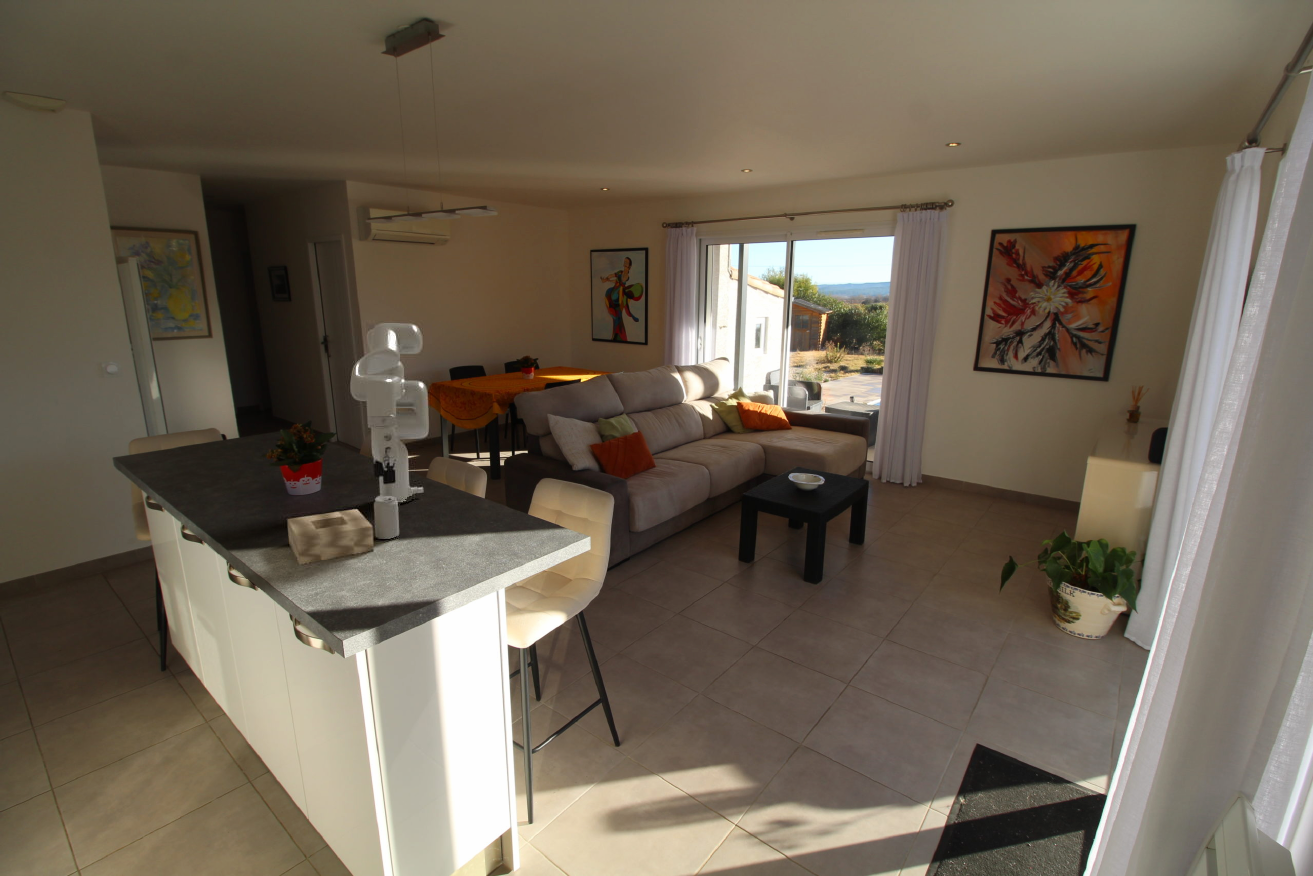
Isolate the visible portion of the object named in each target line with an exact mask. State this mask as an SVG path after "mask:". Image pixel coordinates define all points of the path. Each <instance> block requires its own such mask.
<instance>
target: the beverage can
mask: <svg viewBox="0 0 1313 876" xmlns="http://www.w3.org/2000/svg"><path fill="white" fill-rule="evenodd" d="M374 500H375V501H374V503H373V510H374V512H373V513H374V529H375V533H374V534H375V537H376V538H377V539H379V540H380V539H391V538H394V537H396V536H397V537H398V536H399V535H400V528H399V527H400V525H399V505H398V501H397V500H396V497H394V496H382V497H378V498H376V497H375V499H374ZM397 537H396V538H397ZM394 539H395V538H394ZM391 540H392V539H391Z"/></svg>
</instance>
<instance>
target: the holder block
mask: <svg viewBox="0 0 1313 876" xmlns="http://www.w3.org/2000/svg"><path fill="white" fill-rule="evenodd" d="M286 520H287V521H286V522H287V533H288V544H289V546H290V548H291V550H292V552H293V555H294V556H295V558H296V557H297V558H296V561H297V562H298V564H299V565H306V564H310V562H311V563H316V562H321V561H325V560H332V558H333V559H336V558H335V557H338V558H342V557H341V556H343V557H347V556H346V555H349V556H351V555H350V554H354V555H356V554H355V553H359V554H362V553H361V552H365V553H367V552H366V551H370V550H374V530H373V525H372V524H371V523H370V521H368V520H367V518H366V517H365V516H364V515H363V514H362V513H361V512H360V511H359V510H358V509H357V508H356V509H355V508H353V509H348V510H340V511H334V512H328V513H322V514H321V513H320V514H313V515H306V516H299V517H294V518H293V517H292V518H287V519H286ZM370 552H371V551H370ZM305 563H306V564H305Z"/></svg>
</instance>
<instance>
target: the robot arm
mask: <svg viewBox="0 0 1313 876" xmlns="http://www.w3.org/2000/svg"><path fill="white" fill-rule="evenodd" d="M366 341H367V346H368V349H369V352H368V353H367V354H366V355H364V356H362V357H361V358H360V359H359V360H357V361H356V362H355V364H354V365H353V367H352V369H351V371H352V372H351V378H350V386H349V387H350V394H351V396H352V397H353V399H354V400H357V401H360V402H361V401H363V402H366V413H367V414H366V415H367V427H368V428H369V429H371V436H370V437H371V439H370V440H371V442H370V443H371V453H372V457H373V477H374V478H379V479H378V480H379V494H380V495H377V496H376V497H375V499H376V498H378V497H382V496H394V497H396V500H397V501H398V502H403V501H406V500H405V499H407V497H409V496H412V495H413V494H414V495H415V494H422V493H424V490H425V489H424V487H423V486H421V487H418V486H410V474H409V473H410V472H409V471H410V470H409V453H408V449H407V447H406V446H405V445H404V443H402V441H401V440H414V439H418V440H419V439H424V438H426V437H427V436H428V434H429V432H430V431H429V430H430V428H429V427H430V424H429V423H430V422H429V421H430V420H429V397H428V396H429V395H428V388H427V385H426V384H425V383H424V382H423V381H420V380H406V379H405V368H404V365H403V363H402V362H401V361H400V360H401V359H400V358H401V354H403V355H404V354H405V355H406V354H407V355H408V354H409V355H416V354H419V353H421V351H422V348H423V343H424V342H423V335H422V332H421V330H420V328H419V326H417V325H416V324H413V323H400V322H399V323H397V322H382V323H379V324H376V325H375V326H374V328H372V329H369V330H368V331H367V333H366ZM408 408H409V409H413V410H414V411H397V409H408Z"/></svg>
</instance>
